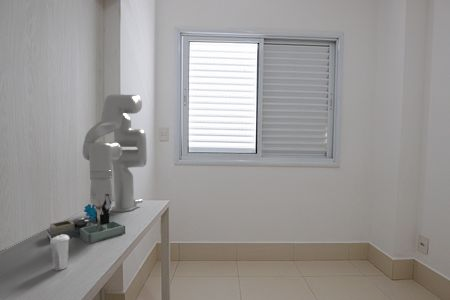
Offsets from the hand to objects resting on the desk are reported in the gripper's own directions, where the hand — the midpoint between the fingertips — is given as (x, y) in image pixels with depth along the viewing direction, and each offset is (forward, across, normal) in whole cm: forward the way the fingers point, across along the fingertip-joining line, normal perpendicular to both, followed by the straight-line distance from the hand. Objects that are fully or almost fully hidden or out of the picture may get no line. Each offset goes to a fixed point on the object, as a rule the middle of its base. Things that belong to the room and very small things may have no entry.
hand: (102, 222), depth 94 cm
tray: (+5, 0, 0) cm, 5 cm away
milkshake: (+5, +17, -18) cm, 25 cm away
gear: (+5, -21, +4) cm, 22 cm away
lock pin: (+3, 0, 0) cm, 3 cm away
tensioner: (+5, -9, -8) cm, 13 cm away
